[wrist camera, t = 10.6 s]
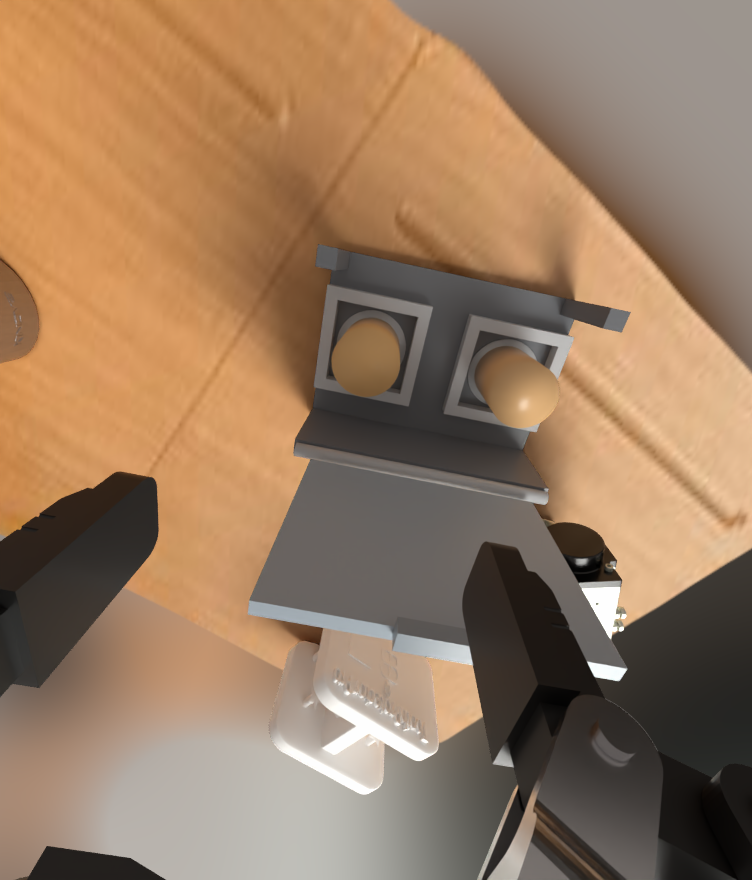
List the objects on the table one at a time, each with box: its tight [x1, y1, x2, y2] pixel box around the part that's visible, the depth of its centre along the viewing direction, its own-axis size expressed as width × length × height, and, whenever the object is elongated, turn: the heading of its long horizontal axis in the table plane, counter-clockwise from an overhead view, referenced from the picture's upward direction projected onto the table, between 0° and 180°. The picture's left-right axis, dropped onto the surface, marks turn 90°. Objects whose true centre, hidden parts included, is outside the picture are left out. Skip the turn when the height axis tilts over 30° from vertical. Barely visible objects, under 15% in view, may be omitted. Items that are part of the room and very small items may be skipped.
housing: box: [293, 244, 631, 505], centre depth 29 cm, size 19×14×8 cm
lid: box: [248, 459, 627, 681], centre depth 22 cm, size 16×13×1 cm
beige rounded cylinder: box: [331, 318, 400, 397], centre depth 29 cm, size 5×5×6 cm
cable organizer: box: [269, 628, 439, 794], centre depth 42 cm, size 15×11×12 cm
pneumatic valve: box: [542, 519, 626, 639], centre depth 34 cm, size 6×12×12 cm, turn 6°
